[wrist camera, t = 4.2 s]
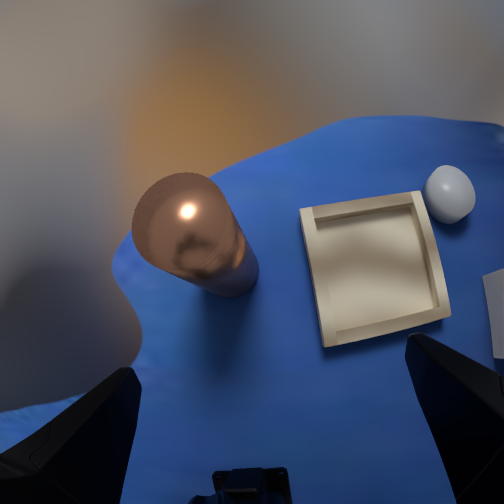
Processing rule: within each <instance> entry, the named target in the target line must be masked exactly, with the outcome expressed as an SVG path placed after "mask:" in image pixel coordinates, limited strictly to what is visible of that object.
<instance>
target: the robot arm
mask: <svg viewBox="0 0 504 504" xmlns="http://www.w3.org/2000/svg"><path fill="white" fill-rule="evenodd" d="M405 360H406V364H407V367H408V370H409V373H410V376H411V379H412V382H413V386H414V389H415V392H416V395H417V398H418V401H419V403H420V406H421V408H422V411H423V413H424V415H425V418H426V420H427V423H428V425H429V427H430V430H431V432H432V435H433V437H434V440H435V443H436V445H437V448H438V450H439V453H440V456H441V458H442V461H443V464H444V467H445V469H446V472H447V475H448V478H449V481H450V484H451V487H452V490H453V493H454V496H455V499H457V500H456V503H457V504H504V376H502V375H500V376H499V374H498V373H496V372H494V371H493V370H491V369H489V368H487V367H485V366H483V365H481V364H480V363H478V362H476V361H474V360H472V359H470V358H468V357H466V356H465V355H463V354H461V353H459V352H457V351H455V350H453V349H452V348H450V347H448V346H446V345H444V344H442V343H440V342H438V341H436V340H435V339H433V338H431V337H429V336H427V335H425V334H423V333H421V332H418V333H414V334H410V335H409V336H408V340H407V346H406V351H405ZM141 392H142V387H141V384H140V382H139V380H138V378H137V376H136V374H135V372H134V370H133V369H132V368H131V367H121V368H119V369H118V370H116V371H115V372H114V373H112V374H111V375H110V376H108V377H107V378H106V379H104V380H103V381H102V382H101V383H99V384H98V385H97V386H95V387H94V388H93V389H92V390H90V391H89V392H88V393H86V394H85V395H84V396H82V397H81V398H80V399H78V400H77V401H76V402H75V403H73V404H72V405H71V406H69V407H68V408H67V409H65V410H64V411H63V412H61V413H60V414H59V415H57V416H56V417H55V418H54V419H52V420H51V421H50V422H48V423H47V424H46V425H44V426H43V427H42V428H40V429H39V430H37V431H36V432H35V433H33V434H32V435H30V436H29V437H27V438H26V439H24V440H22V441H21V442H19V443H18V444H16V445H14V446H13V447H11V448H9V449H8V450H6V451H5V452H3V453H1V454H0V504H120V499H121V494H122V489H123V484H124V479H125V475H126V470H127V466H128V461H129V457H130V453H131V448H132V444H133V440H134V436H135V432H136V427H137V421H138V413H139V406H140V399H141ZM281 471H282V472H284V474H279V472H281ZM216 475H219V476H220V478H218V477H216ZM212 479H213V483H214V487H215V492H216V493H215V494H214V495H212V496H210V497H209V496H207V497H206V496H199V495H196V496H195V497H193V498H192V499H191V500H190V502H189V503H188V504H292V499H291V492H290V485H289V478H288V472H287V469H286V468H284V467H279V468H268V469H263V468H245V469H233V470H232V471H215V472H214V473H213V475H212Z"/></svg>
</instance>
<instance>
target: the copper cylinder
mask: <svg viewBox="0 0 504 504" xmlns="http://www.w3.org/2000/svg"><path fill="white" fill-rule="evenodd" d="M132 236H133V241H134V244H135V246H136V248H137V250H138V252H139V253H140V255H141V256H142V257H143V258H144V259H145V260H146V261H147V262H149V263H150V264H152V265H153V266H155V267H157V268H160V269H162V270H164V271H166V272H168V273H170V274H172V275H174V276H177V277H179V278H181V279H183V280H185V281H187V282H190V283H192V284H194V285H196V286H198V287H201V288H203V289H205V290H207V291H210V292H212V293H214V294H216V295H219V296H221V297H226V298H234V297H238V296H241V295H243V294H245V293H246V292H248V291H249V290H250V289H251V288H252V287H253V285H254V284H255V282H256V280H257V277H258V272H259V266H258V261H257V258H256V256H255V254H254V252H253V250H252V248H251V247H250V245H249V243H248V241H247V239H246V237H245V235H244V233H243V231H242V229H241V228H240V226H239V224H238V222H237V220H236V218H235V216H234V214H233V212H232V210H231V209H230V207H229V205H228V203H227V201H226V199H225V197H224V195H223V193H222V192H221V190H220V189H219V187H218V186H217V185H216V184H215V183H214V182H213V181H211V180H210V179H208V178H206V177H204V176H202V175H199V174H195V173H178V174H173V175H170V176H167V177H165V178H163V179H161V180H159V181H158V182H156V183H155V184H154V185H152V186H151V187H150V188H149V189H148V190H147V191H146V192H145V194H144V195H143V196H142V198H141V199H140V201H139V203H138V204H137V207H136V209H135V212H134V215H133V221H132Z"/></svg>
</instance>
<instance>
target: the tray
mask: <svg viewBox="0 0 504 504" xmlns="http://www.w3.org/2000/svg"><path fill="white" fill-rule="evenodd" d="M299 218H300V223H301V228H302V233H303V238H304V243H305V248H306V253H307V258H308V263H309V269H310V274H311V280H312V285H313V291H314V296H315V302H316V308H317V314H318V320H319V326H320V332H321V339H322V345H323V347H330V346H335V345H340V344H345V343H349V342H354V341H359V340H363V339H367V338H372V337H376V336H380V335H384V334H388V333H392V332H396V331H400V330H404V329H408V328H411V327H415V326H418V325H422V324H426V323H429V322H432V321H436V320H439V319H442V318H446V317H449V316H451V310H450V304H449V299H448V293H447V288H446V283H445V279H444V274H443V270H442V265H441V261H440V257H439V253H438V249H437V245H436V241H435V238H434V234H433V231H432V227H431V224H430V220H429V217H428V214H427V210H426V207H425V204H424V201H423V198H422V195H421V192H420V191H413V192H406V193H399V194H392V195H385V196H378V197H371V198H364V199H358V200H351V201H345V202H339V203H333V204H326V205H320V206H314V207H308V208H302V209H299Z"/></svg>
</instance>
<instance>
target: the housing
mask: <svg viewBox="0 0 504 504" xmlns="http://www.w3.org/2000/svg"><path fill="white" fill-rule="evenodd" d="M482 279H483V284H484V289H485V295H486V300H487V306H488V313H489V320H490V327H491V336H492V345H493V357H494V358H501V359H504V268H503V269H501V270H498V271H495V272H493V273H490V274H487V275H484V276H482Z"/></svg>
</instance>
